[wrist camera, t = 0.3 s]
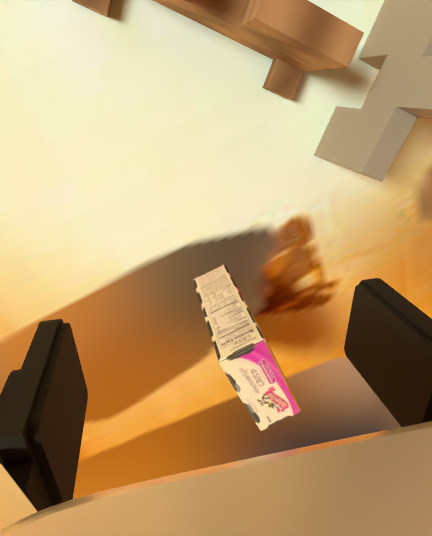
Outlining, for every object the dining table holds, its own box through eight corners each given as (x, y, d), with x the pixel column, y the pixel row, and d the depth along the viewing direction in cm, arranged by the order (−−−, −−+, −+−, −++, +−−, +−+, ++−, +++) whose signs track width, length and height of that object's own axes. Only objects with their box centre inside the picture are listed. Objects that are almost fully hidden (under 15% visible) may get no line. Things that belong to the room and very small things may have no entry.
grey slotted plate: (385, -1, 36) (545, -56, 22) (403, 11, 37) (569, -35, 23) (314, 155, 42) (404, 189, 28) (331, 162, 42) (427, 199, 28)
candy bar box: (256, 321, 51) (303, 413, 37) (225, 336, 51) (260, 434, 37) (225, 260, 46) (267, 340, 31) (190, 277, 46) (216, 365, 31)
